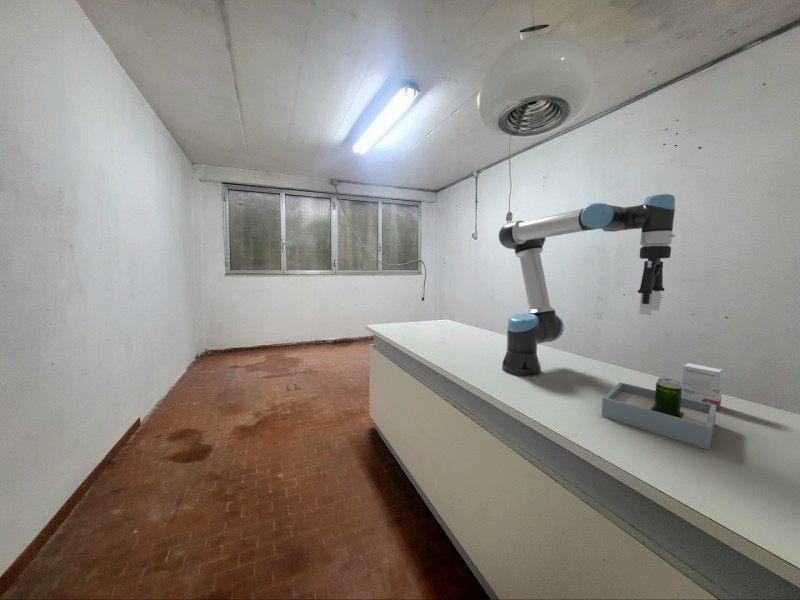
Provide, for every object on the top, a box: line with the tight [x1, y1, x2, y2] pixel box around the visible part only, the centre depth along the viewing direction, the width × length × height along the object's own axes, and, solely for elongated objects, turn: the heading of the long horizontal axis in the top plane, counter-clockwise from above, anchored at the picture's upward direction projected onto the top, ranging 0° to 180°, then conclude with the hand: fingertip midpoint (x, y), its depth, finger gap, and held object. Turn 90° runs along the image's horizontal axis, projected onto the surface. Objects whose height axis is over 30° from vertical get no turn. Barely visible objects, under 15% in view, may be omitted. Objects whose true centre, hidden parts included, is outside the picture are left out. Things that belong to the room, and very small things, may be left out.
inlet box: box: [601, 381, 717, 451], centre depth 85 cm, size 22×18×6 cm
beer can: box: [654, 377, 682, 418], centre depth 83 cm, size 5×5×12 cm
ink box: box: [681, 362, 724, 410], centre depth 95 cm, size 9×5×12 cm, turn 33°
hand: (649, 312), depth 97 cm, fingers open, 13 cm apart
